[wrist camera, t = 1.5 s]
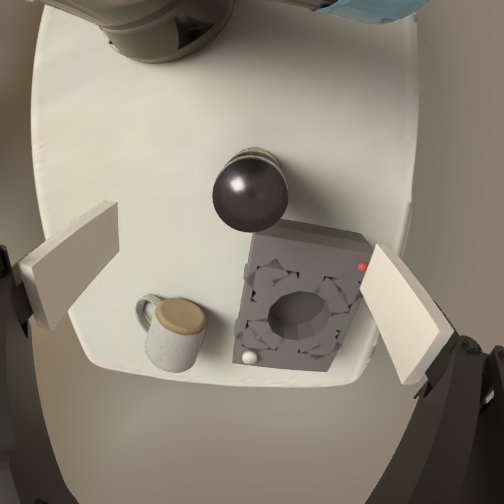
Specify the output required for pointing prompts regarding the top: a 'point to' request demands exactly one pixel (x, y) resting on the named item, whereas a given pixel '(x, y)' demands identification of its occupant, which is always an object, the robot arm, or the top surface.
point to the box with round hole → (299, 295)
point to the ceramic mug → (172, 332)
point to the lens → (251, 191)
